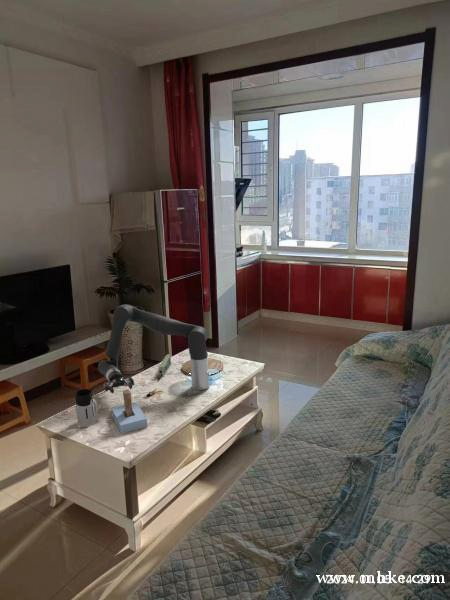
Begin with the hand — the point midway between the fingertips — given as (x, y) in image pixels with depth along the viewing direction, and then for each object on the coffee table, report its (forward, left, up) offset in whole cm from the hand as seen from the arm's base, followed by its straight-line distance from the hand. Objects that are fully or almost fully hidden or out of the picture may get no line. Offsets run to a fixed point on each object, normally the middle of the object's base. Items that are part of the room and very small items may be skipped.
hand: (122, 389), depth 209 cm
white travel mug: (+14, +11, -12) cm, 21 cm away
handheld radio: (-14, -46, -12) cm, 50 cm away
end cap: (-4, +10, -12) cm, 16 cm away
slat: (-5, +10, -11) cm, 15 cm away
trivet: (-37, -50, -12) cm, 63 cm away
